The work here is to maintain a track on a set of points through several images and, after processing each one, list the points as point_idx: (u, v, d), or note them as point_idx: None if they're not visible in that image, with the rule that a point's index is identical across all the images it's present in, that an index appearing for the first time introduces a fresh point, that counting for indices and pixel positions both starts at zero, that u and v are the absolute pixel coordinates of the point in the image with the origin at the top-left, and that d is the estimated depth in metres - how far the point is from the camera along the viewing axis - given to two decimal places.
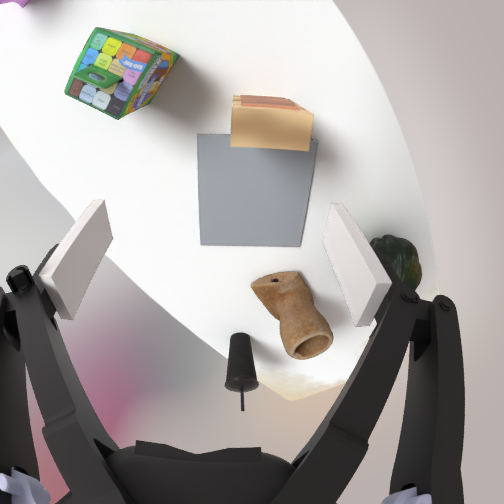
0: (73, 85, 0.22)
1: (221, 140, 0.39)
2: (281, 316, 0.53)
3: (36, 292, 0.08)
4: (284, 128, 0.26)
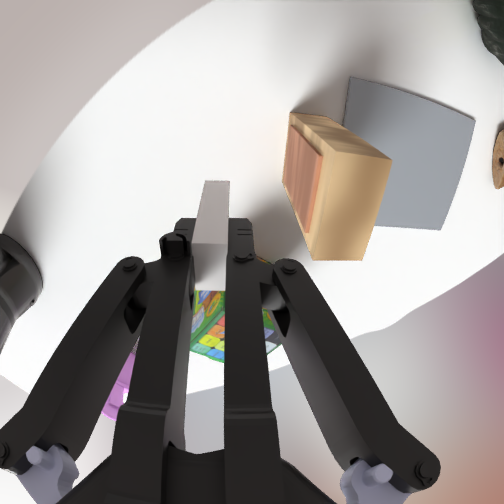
0: None
1: None
2: None
3: (187, 267, 0.10)
4: (353, 195, 0.17)
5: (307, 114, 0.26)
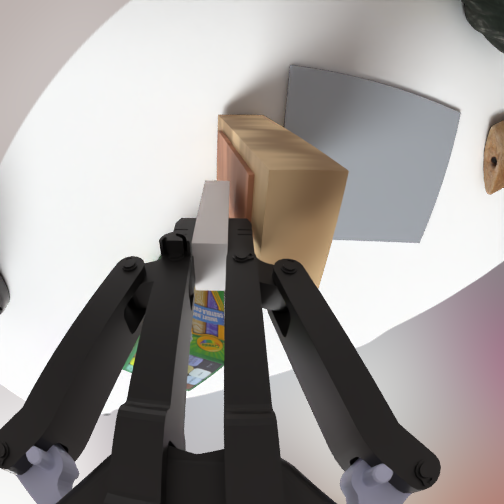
0: None
1: None
2: None
3: (187, 267, 0.10)
4: (298, 222, 0.13)
5: None
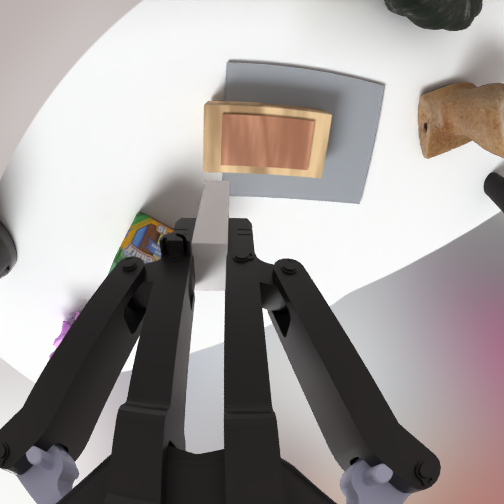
0: None
1: None
2: (471, 139, 0.25)
3: (187, 267, 0.10)
4: None
5: (207, 103, 0.28)
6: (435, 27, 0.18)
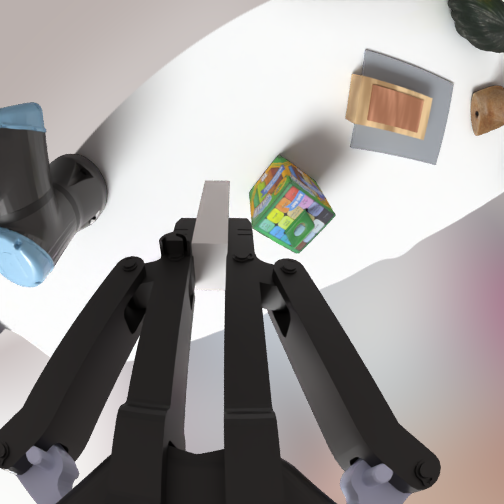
0: None
1: (359, 128, 0.42)
2: None
3: (188, 267, 0.10)
4: None
5: (358, 75, 0.34)
6: (488, 50, 0.24)
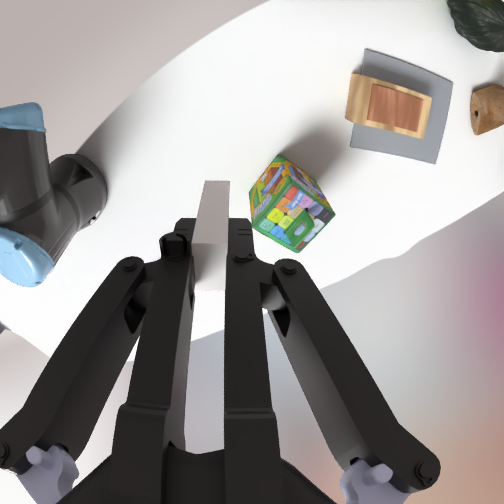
0: None
1: (359, 128, 0.42)
2: None
3: (187, 267, 0.10)
4: None
5: (357, 74, 0.34)
6: (487, 49, 0.24)
